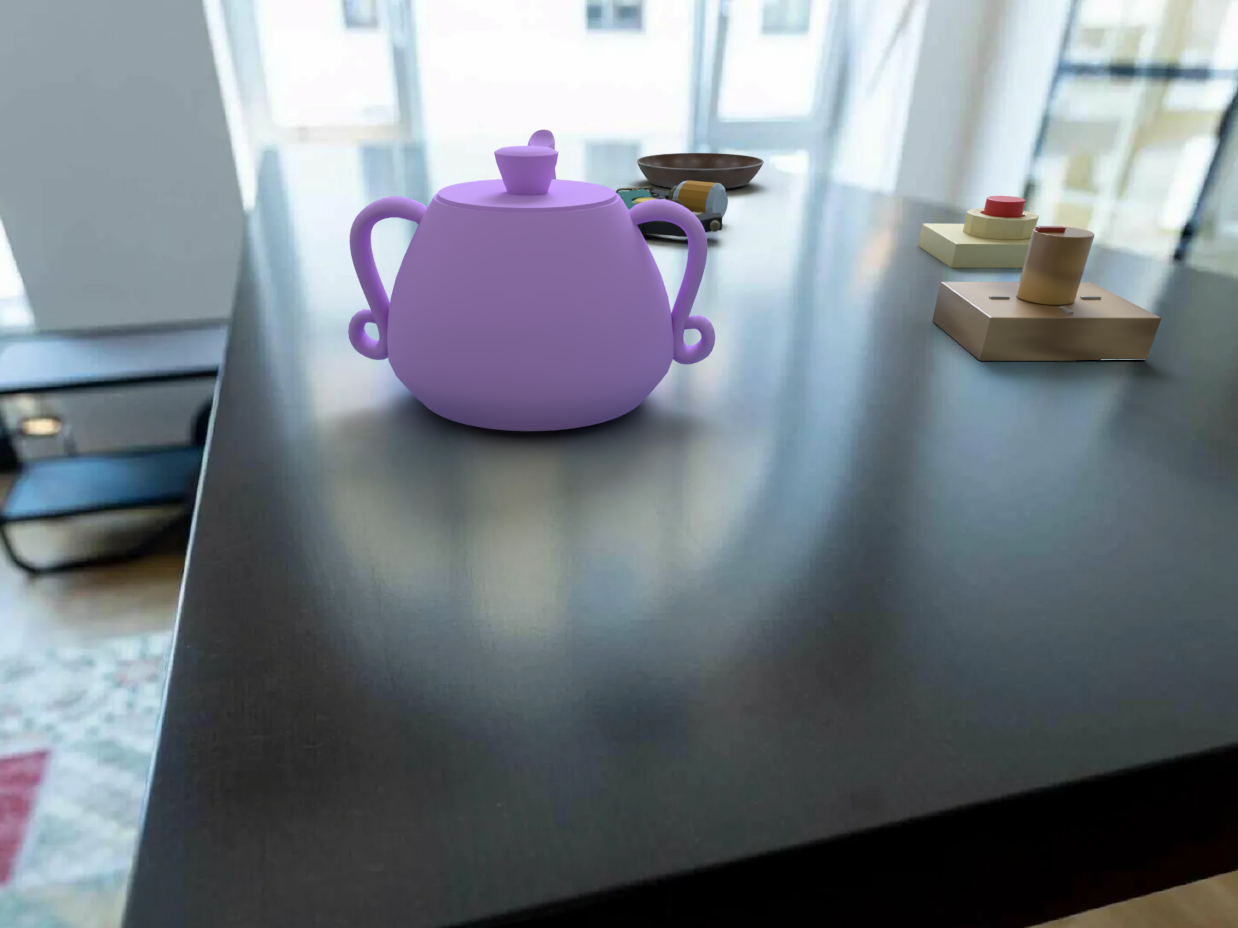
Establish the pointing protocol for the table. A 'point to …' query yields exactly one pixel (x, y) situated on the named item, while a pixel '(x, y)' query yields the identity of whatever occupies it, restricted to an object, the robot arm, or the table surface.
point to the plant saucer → (699, 168)
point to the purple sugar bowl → (529, 298)
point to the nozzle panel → (1043, 324)
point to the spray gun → (693, 195)
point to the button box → (980, 240)
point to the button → (1004, 206)
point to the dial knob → (1054, 264)
